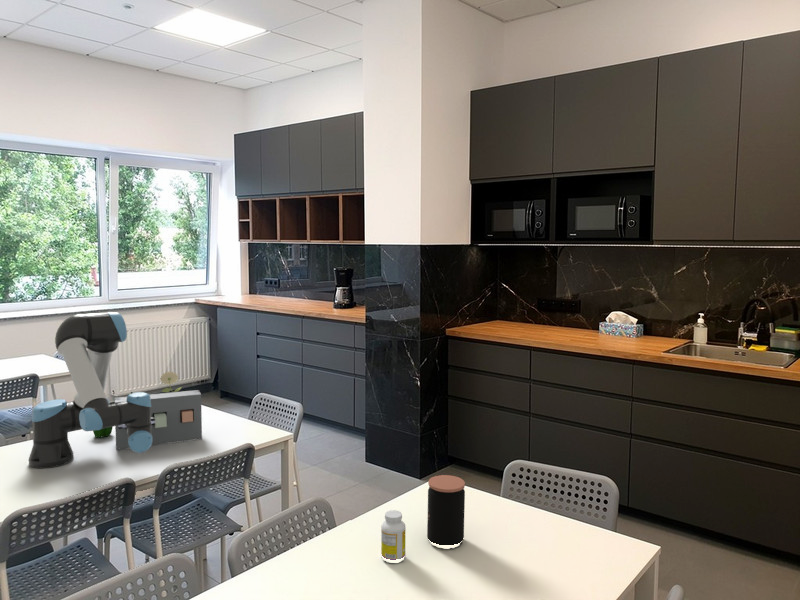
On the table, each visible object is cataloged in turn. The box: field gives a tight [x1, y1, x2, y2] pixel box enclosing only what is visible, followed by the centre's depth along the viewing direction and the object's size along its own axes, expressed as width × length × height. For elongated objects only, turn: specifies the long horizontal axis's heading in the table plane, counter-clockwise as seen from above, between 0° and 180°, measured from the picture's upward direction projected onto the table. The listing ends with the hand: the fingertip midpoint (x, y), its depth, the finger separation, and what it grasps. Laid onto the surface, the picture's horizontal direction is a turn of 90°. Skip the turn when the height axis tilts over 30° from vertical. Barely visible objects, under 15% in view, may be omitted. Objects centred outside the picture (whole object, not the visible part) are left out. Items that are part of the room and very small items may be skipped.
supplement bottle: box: [380, 509, 406, 560], centre depth 164 cm, size 7×7×13 cm
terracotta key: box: [180, 409, 193, 423], centre depth 260 cm, size 4×7×4 cm, turn 27°
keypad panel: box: [113, 389, 203, 451], centre depth 257 cm, size 34×8×20 cm, turn 117°
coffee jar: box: [426, 474, 466, 545], centre depth 174 cm, size 11×11×18 cm
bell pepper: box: [92, 426, 114, 438], centre depth 264 cm, size 8×8×10 cm
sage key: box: [154, 412, 167, 428], centre depth 252 cm, size 4×7×4 cm, turn 27°
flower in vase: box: [159, 371, 182, 393], centre depth 283 cm, size 13×11×25 cm
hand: (134, 411), depth 236 cm, fingers closed
